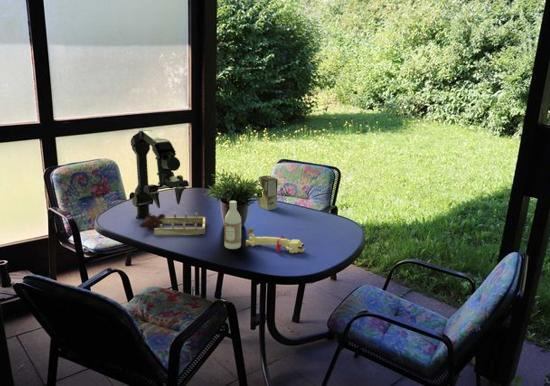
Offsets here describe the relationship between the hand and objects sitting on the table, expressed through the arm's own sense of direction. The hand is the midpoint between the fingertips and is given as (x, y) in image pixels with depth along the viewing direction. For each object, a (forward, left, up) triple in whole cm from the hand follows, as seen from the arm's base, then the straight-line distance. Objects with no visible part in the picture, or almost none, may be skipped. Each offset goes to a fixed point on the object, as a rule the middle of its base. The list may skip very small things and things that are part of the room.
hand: (168, 206), depth 210 cm
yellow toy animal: (+14, +45, -15) cm, 49 cm away
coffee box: (-39, +47, -15) cm, 63 cm away
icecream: (-11, -9, -15) cm, 20 cm away
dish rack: (-10, +4, -15) cm, 18 cm away
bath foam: (+11, +27, -15) cm, 33 cm away
